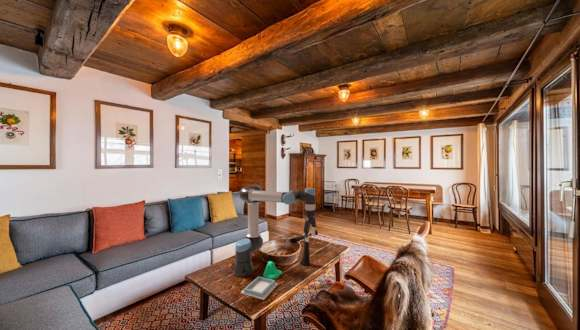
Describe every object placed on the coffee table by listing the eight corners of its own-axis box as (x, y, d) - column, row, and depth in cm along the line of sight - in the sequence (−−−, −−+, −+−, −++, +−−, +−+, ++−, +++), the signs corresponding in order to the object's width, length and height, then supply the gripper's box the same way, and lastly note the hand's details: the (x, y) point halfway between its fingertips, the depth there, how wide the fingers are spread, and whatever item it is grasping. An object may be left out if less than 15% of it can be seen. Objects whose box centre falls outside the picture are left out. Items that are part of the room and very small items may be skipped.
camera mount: (270, 281, 159) (270, 267, 159) (263, 277, 164) (263, 263, 164) (282, 275, 168) (282, 261, 168) (275, 271, 173) (275, 258, 173)
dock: (240, 293, 144) (240, 288, 144) (256, 279, 161) (256, 275, 161) (263, 300, 138) (263, 295, 137) (277, 284, 154) (277, 280, 154)
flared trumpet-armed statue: (295, 272, 171) (295, 233, 171) (286, 268, 178) (286, 230, 177) (320, 259, 193) (320, 224, 193) (312, 256, 200) (312, 222, 200)
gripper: (309, 213, 151) (309, 245, 151) (320, 206, 174) (320, 234, 174) (298, 212, 154) (298, 243, 155) (310, 206, 177) (310, 232, 177)
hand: (310, 238), depth 164 cm, fingers open, 13 cm apart
